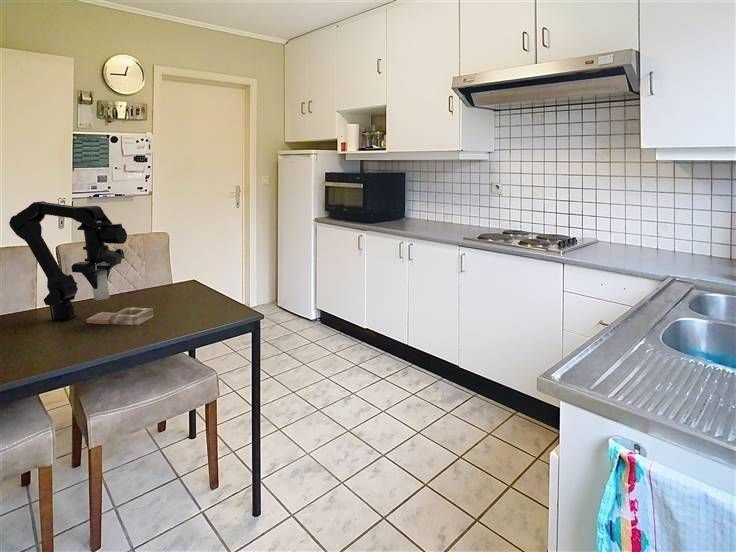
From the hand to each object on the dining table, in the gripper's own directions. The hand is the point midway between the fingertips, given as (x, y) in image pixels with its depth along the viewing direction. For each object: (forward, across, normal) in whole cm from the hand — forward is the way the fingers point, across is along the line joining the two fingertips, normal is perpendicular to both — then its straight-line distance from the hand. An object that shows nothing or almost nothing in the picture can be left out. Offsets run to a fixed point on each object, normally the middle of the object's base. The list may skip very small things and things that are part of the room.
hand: (100, 287), depth 170 cm
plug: (+4, 0, 0) cm, 4 cm away
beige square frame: (+12, +1, -10) cm, 16 cm away
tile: (+12, 0, 0) cm, 12 cm away
